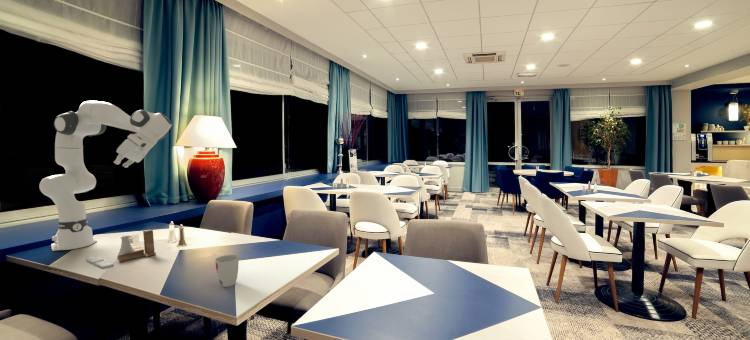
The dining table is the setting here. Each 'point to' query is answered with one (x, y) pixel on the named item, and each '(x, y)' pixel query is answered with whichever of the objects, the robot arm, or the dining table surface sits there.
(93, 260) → the broken grey strip
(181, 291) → the dining table surface
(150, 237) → the brown wooden l-shaped piece
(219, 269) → the cup
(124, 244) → the flask
